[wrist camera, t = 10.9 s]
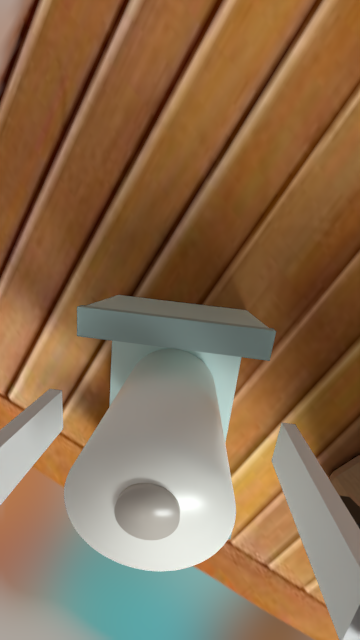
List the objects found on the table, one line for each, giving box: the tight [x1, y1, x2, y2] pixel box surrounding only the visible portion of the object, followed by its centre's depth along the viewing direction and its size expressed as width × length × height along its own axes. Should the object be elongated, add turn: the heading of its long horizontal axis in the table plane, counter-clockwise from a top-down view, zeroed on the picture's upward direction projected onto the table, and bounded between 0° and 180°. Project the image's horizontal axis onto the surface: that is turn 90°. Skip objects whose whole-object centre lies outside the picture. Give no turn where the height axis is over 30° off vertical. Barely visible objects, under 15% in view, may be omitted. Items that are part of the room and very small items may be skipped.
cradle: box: [77, 295, 276, 539], centre depth 16 cm, size 14×10×6 cm
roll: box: [64, 349, 236, 571], centre depth 13 cm, size 7×7×9 cm
